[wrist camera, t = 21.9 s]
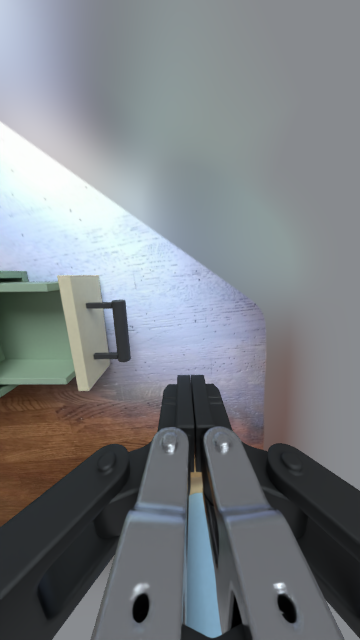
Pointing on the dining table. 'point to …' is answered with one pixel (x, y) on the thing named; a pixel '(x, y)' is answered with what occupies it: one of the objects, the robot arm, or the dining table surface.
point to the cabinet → (11, 277)
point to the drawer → (58, 332)
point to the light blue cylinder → (201, 573)
